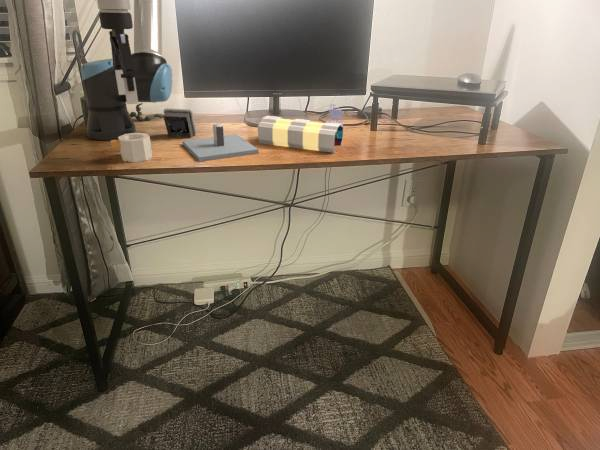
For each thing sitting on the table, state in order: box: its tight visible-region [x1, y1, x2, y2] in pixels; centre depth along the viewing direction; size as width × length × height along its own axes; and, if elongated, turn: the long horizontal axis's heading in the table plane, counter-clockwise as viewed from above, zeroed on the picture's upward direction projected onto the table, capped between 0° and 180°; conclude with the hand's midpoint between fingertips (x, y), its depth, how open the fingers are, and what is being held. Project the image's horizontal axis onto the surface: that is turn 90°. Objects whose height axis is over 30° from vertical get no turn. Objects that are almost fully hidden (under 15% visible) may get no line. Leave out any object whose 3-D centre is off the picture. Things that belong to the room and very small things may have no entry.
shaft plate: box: [181, 123, 259, 162], centre depth 134 cm, size 18×18×7 cm
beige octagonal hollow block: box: [110, 132, 153, 163], centre depth 125 cm, size 8×10×6 cm
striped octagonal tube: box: [257, 103, 344, 154], centre depth 139 cm, size 25×10×13 cm, turn 70°
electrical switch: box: [163, 107, 197, 139], centre depth 145 cm, size 9×5×9 cm, turn 84°
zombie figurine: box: [129, 102, 165, 122], centre depth 164 cm, size 5×7×15 cm
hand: (128, 98), depth 120 cm, fingers open, 13 cm apart
